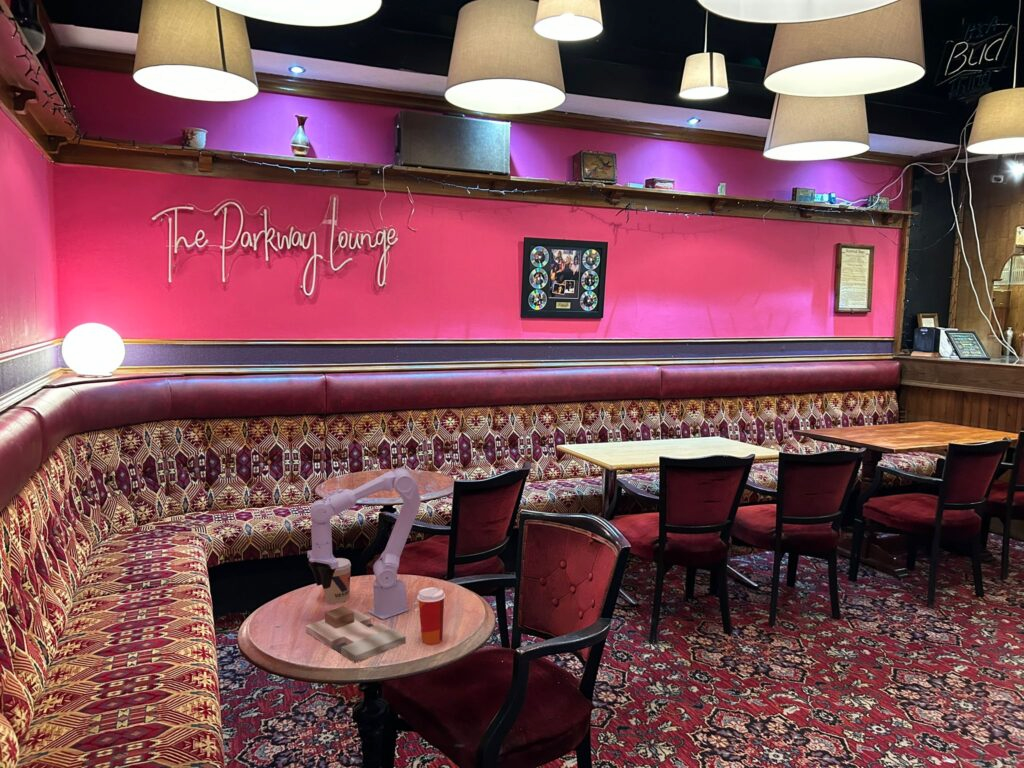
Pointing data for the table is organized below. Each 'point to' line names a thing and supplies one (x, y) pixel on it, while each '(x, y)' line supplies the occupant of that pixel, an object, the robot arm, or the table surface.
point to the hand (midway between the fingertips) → (323, 586)
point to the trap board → (357, 637)
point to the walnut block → (339, 617)
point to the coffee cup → (339, 583)
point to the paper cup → (431, 615)
